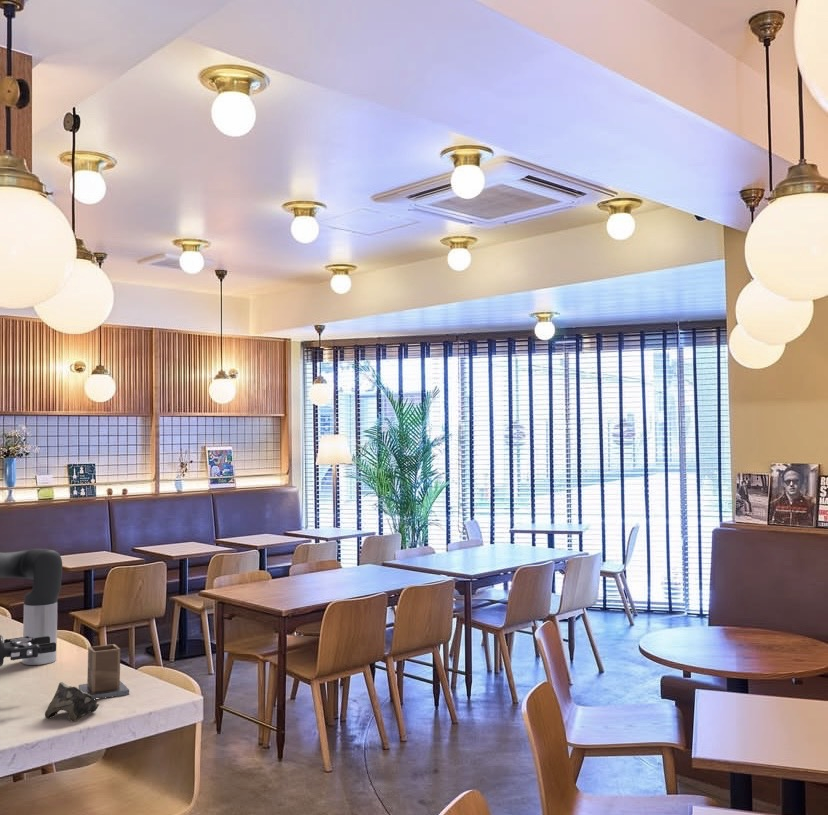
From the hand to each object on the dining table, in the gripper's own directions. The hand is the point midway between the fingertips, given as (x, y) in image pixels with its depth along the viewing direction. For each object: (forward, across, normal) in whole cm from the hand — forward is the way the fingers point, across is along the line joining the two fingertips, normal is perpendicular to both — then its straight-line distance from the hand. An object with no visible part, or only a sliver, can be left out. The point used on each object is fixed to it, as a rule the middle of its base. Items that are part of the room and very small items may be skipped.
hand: (52, 643), depth 207 cm
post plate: (+12, +1, -14) cm, 18 cm away
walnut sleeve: (+12, +2, -13) cm, 17 cm away
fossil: (+2, +18, -14) cm, 23 cm away
